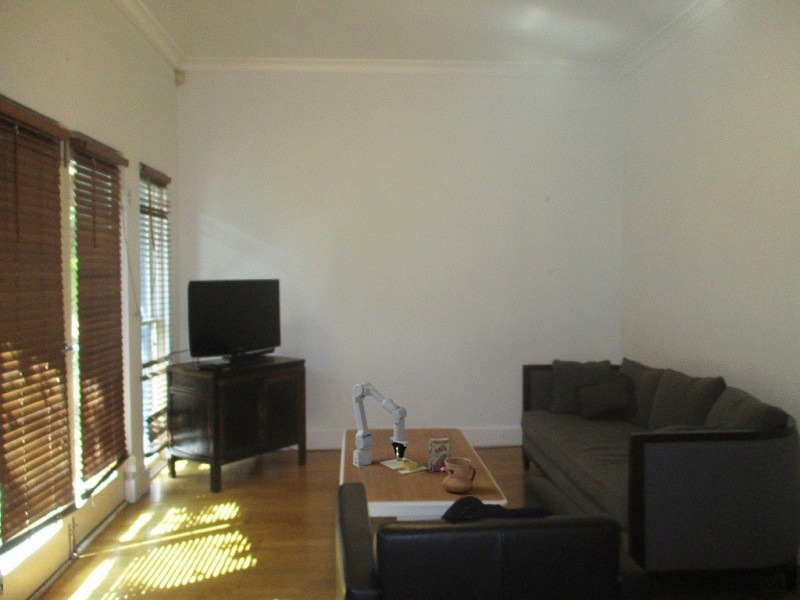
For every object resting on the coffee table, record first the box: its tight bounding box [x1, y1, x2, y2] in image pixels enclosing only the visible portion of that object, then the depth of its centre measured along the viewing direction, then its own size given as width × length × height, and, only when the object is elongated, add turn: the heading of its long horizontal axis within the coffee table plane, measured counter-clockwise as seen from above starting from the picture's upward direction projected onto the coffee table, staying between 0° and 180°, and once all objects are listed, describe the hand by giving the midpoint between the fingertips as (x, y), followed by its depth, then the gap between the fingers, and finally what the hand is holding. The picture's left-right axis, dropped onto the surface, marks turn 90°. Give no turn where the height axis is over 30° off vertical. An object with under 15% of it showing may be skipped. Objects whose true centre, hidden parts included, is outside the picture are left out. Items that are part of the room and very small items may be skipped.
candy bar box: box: [427, 437, 452, 473], centre depth 353 cm, size 11×5×16 cm, turn 102°
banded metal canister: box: [395, 447, 402, 461], centre depth 351 cm, size 3×3×7 cm
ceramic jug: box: [440, 456, 477, 493], centre depth 322 cm, size 18×14×14 cm
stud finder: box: [400, 458, 418, 471], centre depth 354 cm, size 5×9×3 cm, turn 32°
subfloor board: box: [378, 457, 429, 477], centre depth 359 cm, size 16×24×1 cm, turn 32°
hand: (399, 457), depth 351 cm, fingers closed on banded metal canister, 3 cm apart
